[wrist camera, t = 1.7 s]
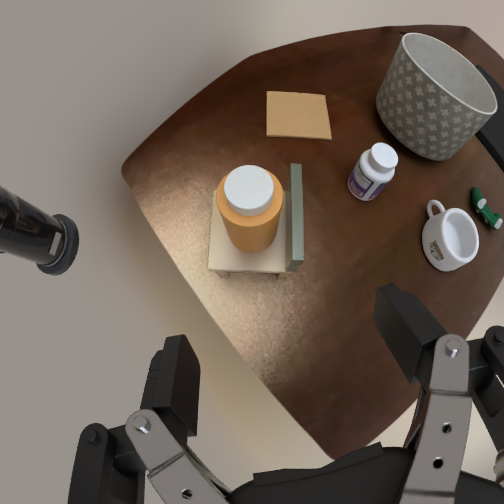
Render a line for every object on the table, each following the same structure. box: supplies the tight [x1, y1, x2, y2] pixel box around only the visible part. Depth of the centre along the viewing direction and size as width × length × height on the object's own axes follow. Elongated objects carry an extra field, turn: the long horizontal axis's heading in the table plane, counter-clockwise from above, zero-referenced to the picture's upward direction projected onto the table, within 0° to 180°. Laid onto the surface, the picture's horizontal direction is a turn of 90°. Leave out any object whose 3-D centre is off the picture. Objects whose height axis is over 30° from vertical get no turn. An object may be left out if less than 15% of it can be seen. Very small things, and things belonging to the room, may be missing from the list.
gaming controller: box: [472, 187, 502, 230], centre depth 38 cm, size 9×4×6 cm
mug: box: [422, 200, 479, 271], centre depth 36 cm, size 12×10×6 cm
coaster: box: [267, 91, 332, 140], centre depth 44 cm, size 11×11×1 cm
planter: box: [376, 33, 497, 161], centre depth 35 cm, size 19×19×18 cm
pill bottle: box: [348, 143, 398, 201], centre depth 36 cm, size 5×5×10 cm
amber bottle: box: [216, 165, 283, 252], centre depth 24 cm, size 5×5×10 cm
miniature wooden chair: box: [207, 163, 304, 280], centre depth 31 cm, size 9×9×16 cm
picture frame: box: [475, 65, 504, 172], centre depth 45 cm, size 40×2×33 cm
